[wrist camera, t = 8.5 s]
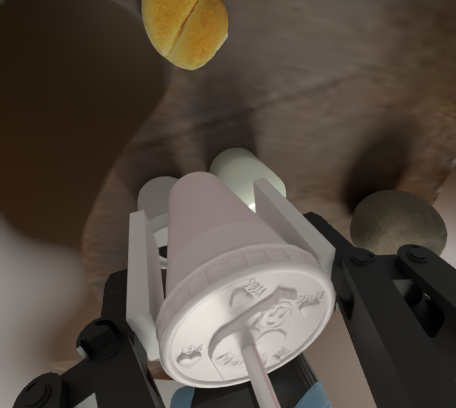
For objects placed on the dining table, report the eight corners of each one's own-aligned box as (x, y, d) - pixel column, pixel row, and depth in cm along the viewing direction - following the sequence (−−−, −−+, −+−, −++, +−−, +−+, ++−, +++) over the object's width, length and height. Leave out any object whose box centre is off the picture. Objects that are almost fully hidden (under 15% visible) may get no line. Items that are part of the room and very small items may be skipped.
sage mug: (263, 195, 43) (289, 225, 36) (218, 211, 42) (235, 246, 35) (254, 140, 38) (282, 163, 30) (202, 157, 37) (219, 185, 29)
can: (129, 209, 37) (126, 267, 28) (150, 165, 35) (156, 211, 25) (176, 224, 41) (189, 280, 31) (198, 185, 39) (220, 232, 29)
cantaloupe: (383, 160, 47) (469, 200, 35) (398, 206, 55) (472, 252, 43) (320, 208, 49) (382, 263, 36) (343, 246, 57) (401, 301, 45)
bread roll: (170, -55, 25) (175, -70, 22) (234, 22, 30) (247, 19, 27) (123, 21, 27) (121, 17, 23) (191, 82, 32) (197, 86, 28)
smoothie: (130, 225, 16) (119, 658, 5) (171, 131, 14) (330, 504, 3) (217, 246, 19) (339, 541, 8) (262, 172, 17) (520, 427, 6)
